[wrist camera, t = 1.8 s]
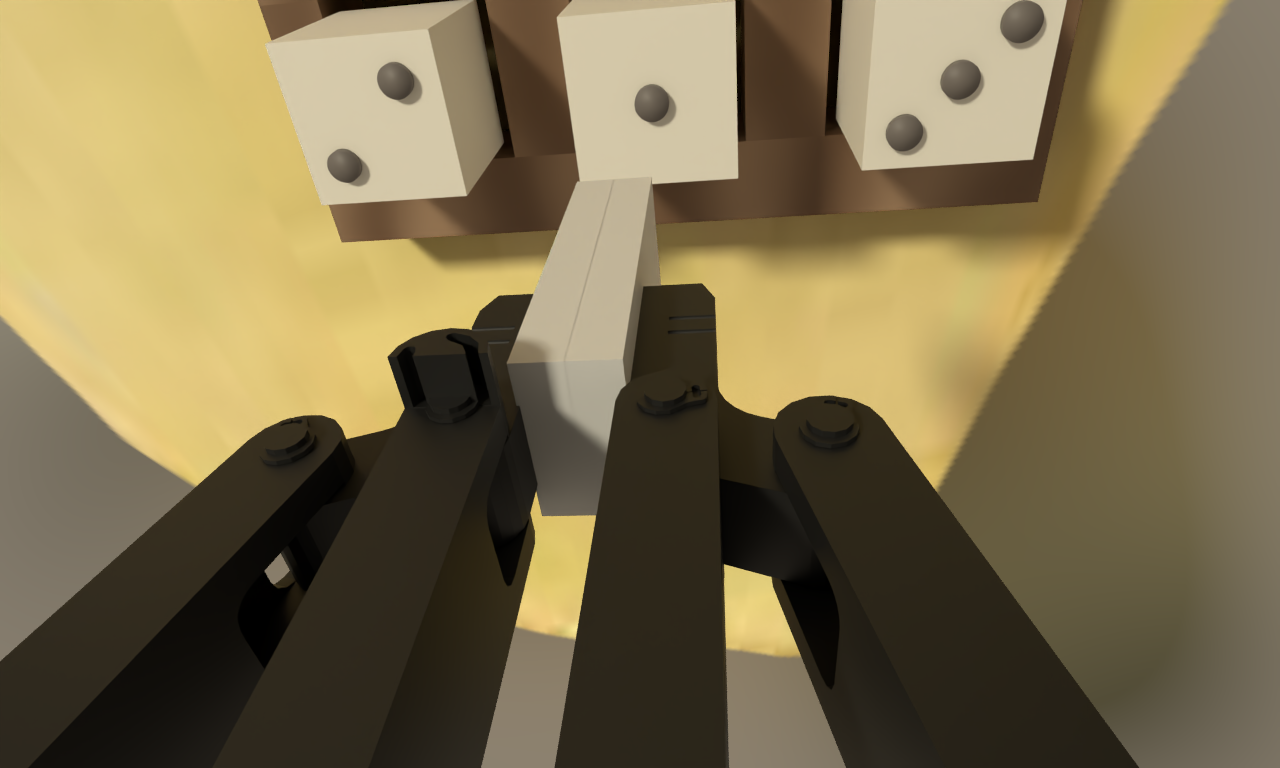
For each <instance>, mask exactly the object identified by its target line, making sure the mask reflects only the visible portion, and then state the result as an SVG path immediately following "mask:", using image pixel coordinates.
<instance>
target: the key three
mask: <svg viewBox="0 0 1280 768" xmlns="http://www.w3.org/2000/svg"><path fill="white" fill-rule="evenodd" d="M1066 2H1067V0H843V4H842V21H841V38H840V55H839V73H838V90H837V107H836V120H837V122H838V124H839V126H840V128H841V130H842V132H843V134H844V136H845V138H846V140H847V142H848V144H849V146H850V148H851V150H852V152H853V154H854V156H855V158H856V160H857V162H858V164H859V166H860V168H861V170H878V169H893V168H909V167H924V166H940V165H955V164H971V163H986V162H1002V161H1018V160H1033V157H1034V152H1035V147H1036V143H1037V138H1038V133H1039V129H1040V124H1041V119H1042V115H1043V110H1044V105H1045V101H1046V96H1047V91H1048V87H1049V82H1050V77H1051V72H1052V68H1053V63H1054V58H1055V54H1056V49H1057V44H1058V40H1059V35H1060V30H1061V26H1062V21H1063V16H1064V12H1065V7H1066Z"/></svg>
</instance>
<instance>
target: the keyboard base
mask: <svg viewBox="0 0 1280 768" xmlns="http://www.w3.org/2000/svg"><path fill="white" fill-rule="evenodd" d="M485 1H486V7H487V12H488V17H489V23H490V28H491V33H492V38H493V44H494V49H495V54H496V59H497V65H498V70H499V75H500V81H501V86H502V91H503V96H504V102H505V107H506V112H507V117H508V123H509V128H510V130H507V131H502V134H503V139H504V143H503V145H502V146H501V148H500V149H499V151H498V152H497V153H496V155H495V156H494V158H493V159H492V161H491V162H490V164H489V165H488V166H487V168H486V169H485V171H484V172H483V174H482V175H481V177H480V178H479V179H478V181H477V182H476V184H475V185H474V187H473V188H472V189H471V191H470V192H469V194H468V195H467V196H458V197H442V198H427V199H411V200H396V201H380V202H365V203H349V204H334V205H329V207H330V210H331V213H332V216H333V218H334V221H335V224H336V227H337V230H338V233H339V236H340V239H341V241H342V242H357V241H374V240H392V239H409V238H426V237H443V236H460V235H477V234H494V233H512V232H529V231H546V230H559V227H560V225H561V222H562V220H563V217H564V214H565V212H566V209H567V207H568V204H569V201H570V199H571V196H572V194H573V191H574V189H575V186H576V183H577V182H580V178H579V171H578V164H577V157H576V150H575V143H574V136H573V129H572V122H571V115H570V108H569V101H568V94H567V87H566V80H565V73H564V66H563V59H562V52H561V45H560V38H559V31H558V23H557V16H558V15H559V14H560V13H561V12H562V11H563V10H564V9H565V8H566V7H567V5H568V4H569V3H570V2H571V1H572V0H485ZM1082 2H1083V0H1067V2H1066V7H1065V12H1064V16H1063V21H1062V26H1061V30H1060V35H1059V40H1058V44H1057V49H1056V54H1055V58H1054V63H1053V68H1052V72H1051V77H1050V82H1049V87H1048V91H1047V96H1046V101H1045V105H1044V110H1043V115H1042V119H1041V124H1040V129H1039V133H1038V138H1037V143H1036V147H1035V152H1034V157H1033V160H1018V161H1002V162H986V163H971V164H955V165H940V166H924V167H909V168H893V169H878V170H861V168H860V166H859V164H858V162H857V160H856V158H855V156H854V154H853V152H852V150H851V148H850V146H849V144H848V142H847V140H846V138H845V136H844V134H843V132H842V130H841V128H840V126H839V124H838V122H837V120H836V107H837V106H832V107H826V99H827V79H828V60H829V40H830V20H831V0H740V19H741V96H742V113H738V114H737V135H738V179H722V180H707V181H691V182H676V183H660V184H652V186H653V198H654V210H655V222H656V224H666V223H683V222H700V221H717V220H734V219H752V218H769V217H786V216H803V215H820V214H837V213H854V212H872V211H889V210H906V209H923V208H940V207H957V206H974V205H992V204H1009V203H1026V202H1038V198H1039V193H1040V189H1041V184H1042V180H1043V175H1044V171H1045V166H1046V162H1047V157H1048V153H1049V149H1050V144H1051V140H1052V135H1053V131H1054V126H1055V122H1056V117H1057V113H1058V108H1059V104H1060V100H1061V95H1062V91H1063V86H1064V82H1065V77H1066V73H1067V68H1068V64H1069V60H1070V55H1071V51H1072V46H1073V42H1074V37H1075V33H1076V28H1077V24H1078V19H1079V15H1080V11H1081V6H1082ZM258 3H259V6H260V8H261V11H262V14H263V17H264V20H265V23H266V26H267V29H268V31H269V34H270V37H271V40H275V39H277V38H279V37H282V36H284V35H286V34H289V33H291V32H293V31H296V30H298V29H300V28H303V27H305V26H307V25H310V24H312V23H314V22H317V21H319V20H321V19H324V18H326V17H328V16H331V15H333V14H335V13H338V12H340V11H351V10H361V9H364V7H363V4H362V0H258Z"/></svg>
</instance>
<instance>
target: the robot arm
mask: <svg viewBox="0 0 1280 768" xmlns="http://www.w3.org/2000/svg"><path fill="white" fill-rule="evenodd" d="M388 360H389V363H390V366H391V369H392V372H393V375H394V378H395V381H396V384H397V387H398V389H399V392H400V395H401V398H402V401H403V404H404V407H405V409H404V411H403V413H402V415H401V417H400V419H399V421H398V422H397V424H396V426H395V427H393V428H390V429H387V430H384V431H380V432H375V433H371V434H367V435H363V436H359V437H354V438H350V439H346V437H345V435H344V433H343V430H342V428H341V427H340V426H339V424H338V423H337V422H336V421H335V420H334V419H331V418H328V417H325V416H322V415H311V416H300V417H294V418H289V419H286V420H282V421H280V422H279V423H277V424H274V425H272V426H270V427H268V428H265V429H264V430H262V431H261V432H259V433H258V434H257V435H255V436H254V437H252V438H251V439H249V440H248V441H247V442H246V443H245V444H244V445H243V446H241V447H240V448H239V449H238V450H237V451H236V452H235V453H234V454H232V455H231V456H230V457H229V458H228V459H227V460H226V461H225V462H223V463H222V464H221V465H220V466H219V467H218V468H217V469H216V470H215V471H213V472H212V473H211V474H210V475H209V476H208V477H207V478H206V479H204V480H203V481H202V482H201V483H200V484H199V485H198V486H197V487H195V488H194V489H193V490H192V491H191V492H190V493H189V494H188V495H186V496H185V497H184V498H183V499H182V500H181V501H180V502H179V503H177V504H176V505H175V506H174V507H173V508H172V509H171V510H170V511H169V512H167V513H166V514H165V515H164V516H163V517H162V518H161V519H160V520H159V521H157V522H156V523H155V524H154V525H153V526H152V527H151V528H149V529H148V530H147V531H146V532H145V533H144V534H143V535H142V536H140V537H139V538H138V539H137V540H136V541H135V542H134V543H133V544H131V545H130V546H129V547H128V548H127V549H126V550H125V551H124V552H122V553H121V554H120V555H119V556H118V557H117V558H116V559H115V560H113V561H112V562H111V563H110V564H109V565H108V566H107V567H106V568H104V569H103V570H102V571H101V572H100V573H99V574H98V575H97V576H96V577H94V578H93V579H92V580H91V581H90V582H89V583H88V584H86V585H85V586H84V587H83V588H82V589H81V590H80V591H79V592H77V593H76V594H75V595H74V596H73V597H72V598H71V599H70V600H68V602H66V603H65V604H64V605H63V606H62V607H61V608H60V609H59V610H57V611H56V612H55V613H54V614H53V615H52V616H51V617H49V618H48V619H47V620H46V621H45V622H44V623H43V624H42V625H41V626H39V627H38V628H37V629H36V630H35V631H34V632H33V633H31V634H30V635H29V636H28V637H27V638H26V639H25V640H24V641H23V642H21V643H20V644H19V645H18V646H17V647H16V648H15V649H14V650H12V651H11V652H10V653H9V654H8V655H7V656H6V657H5V658H3V659H2V660H1V661H0V768H481V765H482V761H483V757H484V753H485V749H486V744H487V740H488V736H489V732H490V728H491V724H492V720H493V715H494V711H495V707H496V703H497V699H498V695H499V690H500V686H501V682H502V678H503V674H504V670H505V666H506V661H507V657H508V653H509V649H510V644H511V641H512V636H513V632H514V628H515V624H516V620H517V616H518V612H519V608H520V603H521V599H522V595H523V591H524V587H525V583H526V578H527V574H528V570H529V566H530V562H531V558H532V554H533V549H534V545H535V530H534V526H533V522H532V518H531V514H530V512H531V508H532V504H533V501H534V497H535V493H536V492H537V496H538V500H539V505H540V509H541V513H542V516H577V515H596V521H595V527H594V533H593V539H592V545H591V551H590V557H589V563H588V569H587V575H586V581H585V587H584V593H583V599H582V605H581V611H580V617H579V623H578V629H577V635H576V641H575V648H574V654H573V660H572V666H571V672H570V678H569V684H568V690H567V696H566V703H565V708H564V714H563V720H562V726H561V732H560V738H559V744H558V750H557V756H556V762H555V768H729V757H728V756H729V752H728V719H727V718H728V714H727V676H726V638H725V600H724V564H725V565H729V566H733V567H737V568H740V569H744V570H748V571H751V572H755V573H759V574H763V575H766V576H770V577H772V583H773V588H774V590H775V593H776V595H777V598H778V600H779V603H780V605H781V607H782V610H783V612H784V615H785V617H786V620H787V622H788V625H789V627H790V630H791V632H792V635H793V637H794V640H795V642H796V645H797V647H798V650H799V652H800V654H801V657H802V659H803V662H804V664H805V667H806V669H807V672H808V674H809V677H810V679H811V681H812V684H813V686H814V689H815V692H816V694H817V696H818V699H819V701H820V704H821V706H822V709H823V711H824V714H825V716H826V719H827V721H828V724H829V726H830V729H831V731H832V734H833V736H834V738H835V741H836V744H837V746H838V748H839V751H840V753H841V756H842V758H843V761H844V763H845V766H846V768H1139V767H1138V766H1137V764H1136V763H1135V761H1134V760H1133V759H1132V757H1131V756H1130V755H1129V753H1128V752H1127V751H1126V749H1125V748H1124V747H1123V745H1122V744H1121V742H1120V741H1119V740H1118V738H1117V737H1116V736H1115V734H1114V733H1113V731H1112V730H1111V729H1110V727H1109V726H1108V725H1107V723H1106V722H1105V721H1104V719H1103V718H1102V717H1101V715H1100V714H1099V712H1098V711H1097V710H1096V708H1095V707H1094V706H1093V704H1092V703H1091V702H1090V700H1089V699H1088V697H1087V696H1086V695H1085V694H1084V692H1083V691H1082V689H1081V688H1080V687H1079V685H1078V684H1077V683H1076V681H1075V680H1074V678H1073V677H1072V676H1071V674H1070V673H1069V672H1068V670H1067V669H1066V668H1065V666H1064V665H1063V664H1062V662H1061V661H1060V659H1059V658H1058V657H1057V655H1056V654H1055V653H1054V651H1053V650H1052V649H1051V647H1050V646H1049V644H1048V643H1047V642H1046V640H1045V639H1044V638H1043V636H1042V635H1041V634H1040V632H1039V631H1038V629H1037V628H1036V627H1035V625H1034V624H1033V623H1032V621H1031V620H1030V619H1029V617H1028V616H1027V614H1026V613H1025V612H1024V610H1023V609H1022V608H1021V606H1020V605H1019V604H1018V602H1017V601H1016V599H1015V598H1014V597H1013V595H1012V594H1011V593H1010V591H1009V590H1008V589H1007V587H1006V586H1005V585H1004V583H1003V582H1002V580H1001V579H1000V578H999V576H998V575H997V574H996V572H995V571H994V570H993V568H992V567H991V565H990V564H989V563H988V561H987V560H986V559H985V557H984V556H983V555H982V553H981V552H980V551H979V549H978V548H977V546H976V545H975V544H974V542H973V541H972V540H971V538H970V537H969V536H968V534H967V533H966V532H965V530H964V529H963V527H962V526H961V525H960V523H959V522H958V521H957V519H956V518H955V517H954V515H953V514H952V512H951V511H950V510H949V508H948V507H947V506H946V504H945V503H944V502H943V500H942V499H941V497H940V496H939V495H938V493H937V492H936V491H935V489H934V488H933V487H932V485H931V484H930V482H929V481H928V480H927V478H926V477H925V476H924V474H923V473H922V472H921V470H920V469H919V468H918V466H917V465H916V463H915V462H914V461H913V459H912V458H911V457H910V455H909V454H908V453H907V451H906V450H905V448H904V447H903V446H902V444H901V443H900V442H899V440H898V439H897V438H896V436H895V435H894V433H893V432H892V431H891V429H890V428H889V427H888V425H887V424H886V423H885V421H884V420H883V419H882V418H881V417H880V416H879V415H878V414H877V413H876V412H875V411H873V410H872V409H871V408H870V407H868V406H866V405H864V404H861V403H859V402H857V401H855V400H852V399H848V398H842V397H836V396H814V397H807V398H804V399H801V400H798V401H795V402H792V403H790V404H789V405H788V406H786V407H785V408H784V409H782V410H781V411H780V412H779V413H778V415H777V417H776V419H770V418H765V417H760V416H756V415H753V414H749V413H746V412H744V411H742V410H740V409H738V408H735V407H734V406H732V405H731V404H730V403H729V402H727V401H726V400H725V399H724V397H723V396H722V395H721V393H720V392H719V388H718V367H717V341H716V315H715V297H714V296H713V295H712V294H711V293H710V292H709V291H708V290H707V288H706V287H705V286H704V285H703V284H702V283H700V284H680V285H661V281H660V269H659V257H658V245H657V234H656V222H655V210H654V198H653V186H652V177H641V178H626V179H610V180H595V181H580V182H577V183H576V186H575V189H574V191H573V194H572V196H571V199H570V201H569V204H568V207H567V209H566V212H565V214H564V217H563V220H562V222H561V225H560V227H559V230H558V232H557V235H556V238H555V240H554V243H553V245H552V248H551V250H550V253H549V256H548V258H547V261H546V263H545V266H544V269H543V271H542V274H541V276H540V279H539V281H538V284H537V287H536V289H535V292H534V294H523V295H503V296H498V297H497V298H495V299H494V300H493V301H492V302H490V303H489V304H488V305H487V306H486V307H484V308H483V309H482V310H481V311H480V312H479V314H478V316H477V318H476V320H475V322H474V324H473V326H472V330H469V329H456V328H449V329H442V330H435V331H431V332H428V333H425V334H422V335H419V336H416V337H413V338H411V339H410V340H408V341H406V342H404V343H403V344H401V345H399V346H398V347H397V348H396V349H395V350H394V351H393V352H392V353H391V354H390V355H389V356H388ZM280 553H281V554H282V556H283V558H284V560H285V562H286V564H287V566H288V568H289V570H290V571H289V572H288V573H287V574H286V576H285V577H284V578H282V579H281V580H280V581H279V582H277V583H276V584H272V583H271V582H270V580H269V578H268V577H267V575H266V573H265V569H266V568H267V567H268V566H269V565H270V564H271V563H272V562H273V561H274V559H275V558H276V557H277V556H278V555H279V554H280Z"/></svg>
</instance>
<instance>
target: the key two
mask: <svg viewBox="0 0 1280 768" xmlns="http://www.w3.org/2000/svg"><path fill="white" fill-rule="evenodd" d="M265 46H266V49H267V51H268V54H269V57H270V60H271V63H272V65H273V68H274V71H275V74H276V77H277V80H278V82H279V85H280V88H281V91H282V94H283V97H284V99H285V102H286V105H287V108H288V111H289V114H290V116H291V119H292V122H293V125H294V128H295V131H296V133H297V136H298V139H299V142H300V145H301V148H302V150H303V153H304V156H305V159H306V162H307V165H308V167H309V170H310V173H311V176H312V179H313V182H314V184H315V187H316V190H317V193H318V196H319V198H320V201H321V204H322V205H334V204H349V203H365V202H380V201H396V200H411V199H427V198H442V197H458V196H467V195H468V194H469V192H470V191H471V189H472V188H473V187H474V185H475V184H476V182H477V181H478V179H479V178H480V177H481V175H482V174H483V172H484V171H485V169H486V168H487V166H488V165H489V164H490V162H491V161H492V159H493V158H494V156H495V155H496V153H497V152H498V151H499V149H500V148H501V146H502V145H503V143H504V139H503V134H502V128H501V123H500V118H499V113H498V108H497V103H496V98H495V93H494V88H493V83H492V77H491V72H490V67H489V62H488V57H487V52H486V47H485V42H484V37H483V31H482V26H481V21H480V16H479V11H478V6H477V1H476V0H457V1H446V2H436V3H425V4H414V5H404V6H393V7H383V8H372V9H361V10H351V11H340V12H338V13H335V14H333V15H331V16H328V17H326V18H324V19H321V20H319V21H317V22H314V23H312V24H310V25H307V26H305V27H303V28H300V29H298V30H296V31H293V32H291V33H289V34H286V35H284V36H282V37H279V38H277V39H275V40H272V41H270V42H268V43H265Z"/></svg>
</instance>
